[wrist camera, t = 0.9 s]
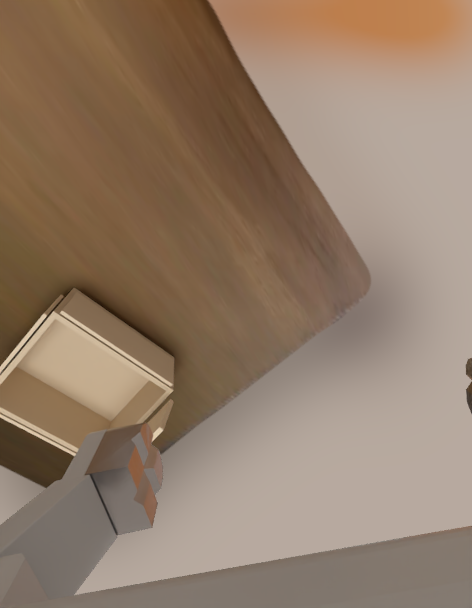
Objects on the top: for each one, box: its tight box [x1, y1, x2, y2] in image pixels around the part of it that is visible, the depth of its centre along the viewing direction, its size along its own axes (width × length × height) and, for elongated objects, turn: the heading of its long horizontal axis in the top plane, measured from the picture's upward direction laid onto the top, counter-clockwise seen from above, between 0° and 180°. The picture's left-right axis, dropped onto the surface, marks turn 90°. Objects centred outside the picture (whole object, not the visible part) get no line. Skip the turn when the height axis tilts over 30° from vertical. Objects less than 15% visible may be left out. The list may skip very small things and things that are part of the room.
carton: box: [0, 288, 174, 456], centre depth 46 cm, size 17×15×8 cm
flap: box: [147, 399, 174, 441], centre depth 42 cm, size 6×12×1 cm
